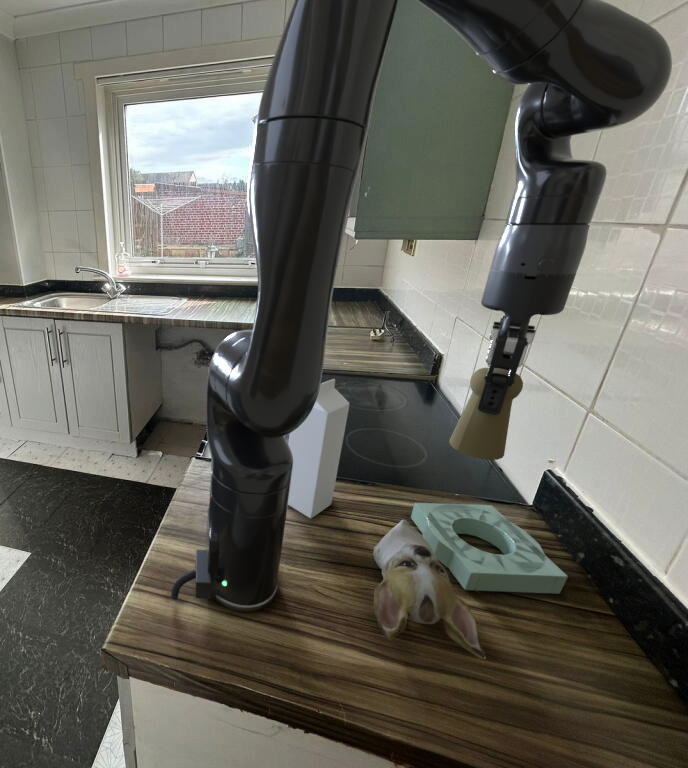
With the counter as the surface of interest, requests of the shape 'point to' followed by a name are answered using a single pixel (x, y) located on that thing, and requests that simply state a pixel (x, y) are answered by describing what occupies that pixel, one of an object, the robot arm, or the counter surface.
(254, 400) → the robot arm
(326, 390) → the milk
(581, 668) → the counter surface
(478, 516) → the plate
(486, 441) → the cork
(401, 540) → the dog head figure
